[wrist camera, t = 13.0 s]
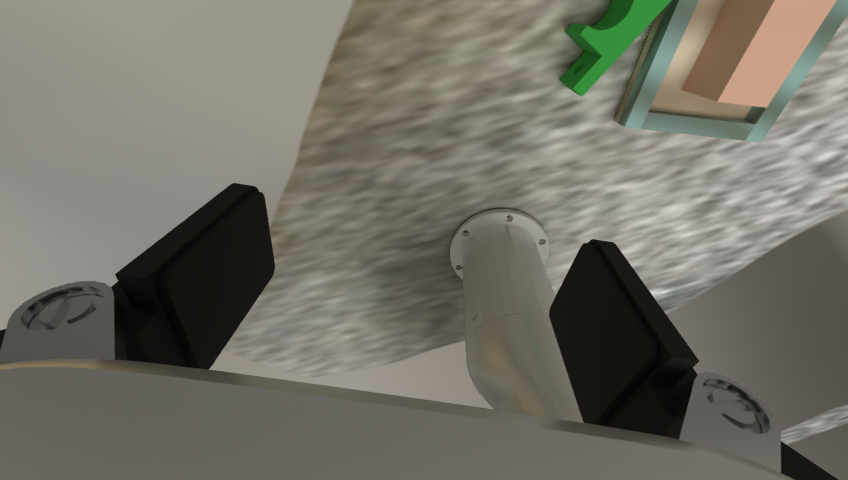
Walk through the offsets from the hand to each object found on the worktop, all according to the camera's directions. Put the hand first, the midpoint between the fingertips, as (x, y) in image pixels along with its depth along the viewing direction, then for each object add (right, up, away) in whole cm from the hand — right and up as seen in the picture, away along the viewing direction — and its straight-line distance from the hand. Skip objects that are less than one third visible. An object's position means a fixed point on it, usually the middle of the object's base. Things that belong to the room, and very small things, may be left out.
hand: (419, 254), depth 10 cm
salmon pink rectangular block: (+26, +18, +18) cm, 37 cm away
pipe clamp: (+16, +20, +19) cm, 32 cm away
